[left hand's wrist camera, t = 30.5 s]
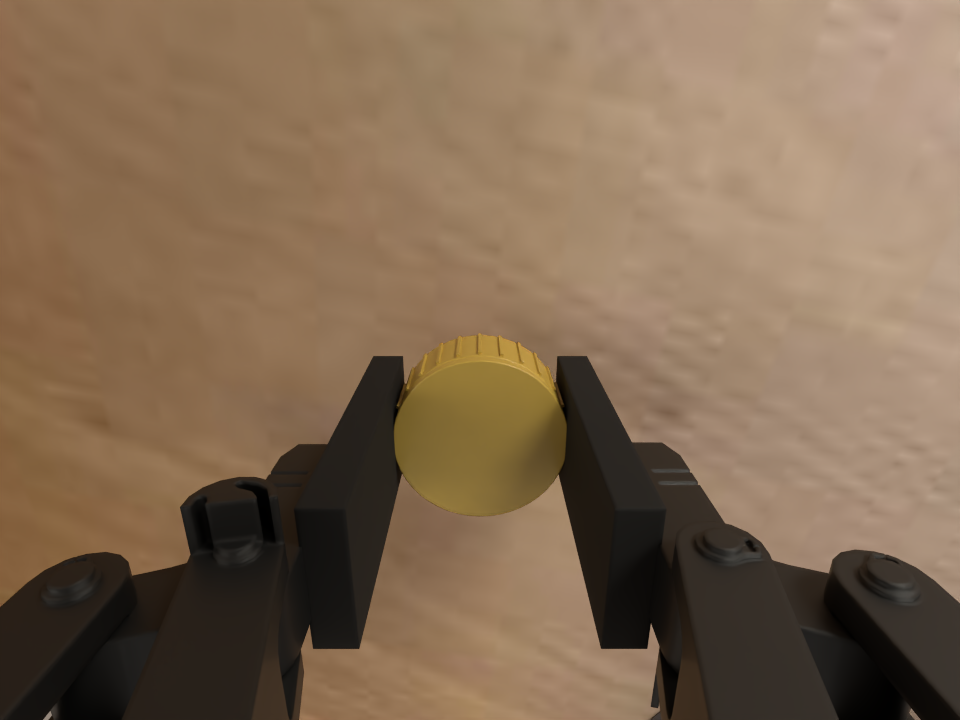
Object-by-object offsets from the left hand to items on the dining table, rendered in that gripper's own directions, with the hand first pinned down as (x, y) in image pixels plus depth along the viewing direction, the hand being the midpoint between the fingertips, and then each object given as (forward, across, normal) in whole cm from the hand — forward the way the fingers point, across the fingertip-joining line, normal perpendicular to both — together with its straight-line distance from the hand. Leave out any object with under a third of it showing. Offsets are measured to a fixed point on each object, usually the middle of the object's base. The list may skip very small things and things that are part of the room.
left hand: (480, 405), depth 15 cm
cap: (-2, 0, 0) cm, 2 cm away
